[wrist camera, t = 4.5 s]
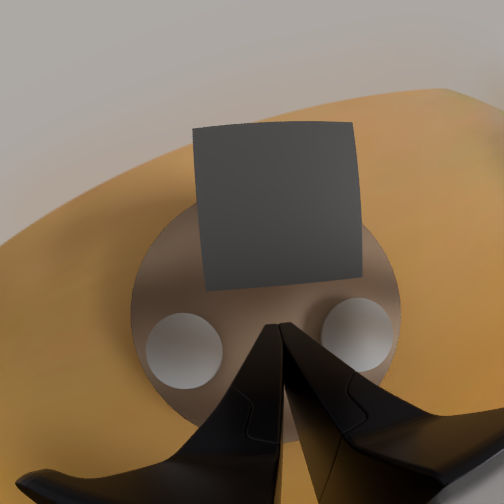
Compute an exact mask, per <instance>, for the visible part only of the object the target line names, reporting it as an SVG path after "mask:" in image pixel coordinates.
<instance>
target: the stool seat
mask: <svg viewBox="0 0 504 504" xmlns="http://www.w3.org/2000/svg"><path fill="white" fill-rule="evenodd" d="M362 257H363V272H362V277H361V278H352V279H343V280H334V281H325V282H315V283H305V284H294V285H283V286H272V287H260V288H248V289H234V290H220V291H206V289H205V280H204V272H203V262H202V253H201V243H200V232H199V221H198V210H197V203H196V204H194V205H193V206H191V207H189V208H188V209H186V210H185V211H183V212H182V213H181V214H180V215H179V216H177V217H176V218H175V219H174V220H172V221H171V222H170V223H169V224H168V226H167V227H166V228H165V229H164V230H163V231H162V232H161V233H160V234H159V236H158V237H157V238H156V240H155V241H154V242H153V244H152V245H151V247H150V248H149V250H148V252H147V254H146V255H145V257H144V259H143V261H142V264H141V266H140V268H139V271H138V273H137V277H136V280H135V284H134V288H133V293H132V301H131V328H132V335H133V341H134V345H135V348H136V351H137V355H138V358H139V360H140V363H141V365H142V367H143V369H144V371H145V373H146V375H147V377H148V379H149V380H150V382H151V383H152V385H153V386H154V388H155V389H156V391H157V392H158V393H159V394H160V395H161V397H162V398H163V399H164V400H165V401H166V402H167V403H168V404H169V405H170V406H171V407H172V408H173V409H174V410H175V411H177V412H178V413H179V414H180V415H181V416H183V417H184V418H185V419H187V420H188V421H190V422H191V423H193V424H195V425H196V426H198V427H200V426H201V425H202V424H203V423H204V422H205V420H206V419H207V418H208V417H209V415H210V414H211V413H212V412H213V410H214V409H215V408H216V407H217V405H218V404H219V402H220V401H221V399H222V398H223V396H224V394H225V393H226V391H227V389H228V388H229V387H230V385H231V383H232V381H233V379H234V378H235V376H236V374H237V373H238V371H239V369H240V367H241V366H242V364H243V362H244V361H245V359H246V357H247V355H248V354H249V352H250V350H251V348H252V346H253V345H254V343H255V341H256V339H257V338H258V336H259V334H260V332H261V330H262V329H263V327H264V325H265V324H274V323H276V324H279V323H284V322H292V323H293V324H294V325H296V326H297V327H298V328H300V329H301V330H302V331H304V332H305V333H306V334H308V335H309V336H310V337H311V338H313V339H314V340H315V341H317V342H318V343H319V344H321V345H322V346H323V347H325V348H326V349H327V350H329V351H330V352H331V353H333V354H334V355H335V356H337V357H338V358H339V359H341V360H342V361H343V362H345V363H346V364H347V365H349V366H350V367H352V368H353V369H354V370H355V371H357V372H359V373H360V374H361V375H363V376H364V377H365V378H367V379H368V380H370V381H371V382H373V383H374V384H376V385H377V386H379V384H380V383H381V381H382V379H383V378H384V376H385V374H386V372H387V371H388V369H389V366H390V364H391V361H392V359H393V356H394V354H395V351H396V346H397V342H398V338H399V333H400V323H401V306H400V296H399V291H398V285H397V282H396V278H395V275H394V272H393V269H392V267H391V265H390V262H389V260H388V258H387V256H386V254H385V252H384V251H383V249H382V248H381V246H380V244H379V243H378V241H377V240H376V239H375V237H374V236H373V235H372V234H371V232H370V231H369V230H368V229H367V228H366V227H365V226H364V225H363V224H362ZM298 440H299V437H298V433H297V430H296V426H295V423H294V420H293V416H292V413H291V409H290V406H289V402H288V399H287V396H286V392H285V388H284V430H283V443H287V442H292V441H298Z"/></svg>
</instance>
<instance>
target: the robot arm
mask: <svg viewBox="0 0 504 504" xmlns="http://www.w3.org/2000/svg"><path fill="white" fill-rule="evenodd" d="M284 388H285V392H286V396H287V399H288V402H289V406H290V409H291V413H292V416H293V420H294V423H295V426H296V430H297V433H298V437H299V440H300V443H301V447H302V450H303V454H304V457H305V460H306V464H307V467H308V470H309V474H310V477H311V480H312V484H313V487H314V490H315V494H316V497H317V500H318V503H319V504H504V408H499V409H494V410H488V411H483V412H476V413H469V414H462V415H453V416H438V415H434V414H431V413H428V412H426V411H423V410H421V409H420V408H418V407H416V406H414V405H412V404H410V403H408V402H406V401H404V400H402V399H400V398H399V397H397V396H395V395H393V394H391V393H389V392H388V391H386V390H384V389H383V388H381V387H379V386H377V385H376V384H374V383H373V382H371V381H370V380H368V379H367V378H365V377H364V376H363V375H361V374H360V373H359V372H357V371H355V370H354V369H353V368H352V367H350V366H349V365H347V364H346V363H345V362H343V361H342V360H341V359H339V358H338V357H337V356H335V355H334V354H333V353H331V352H330V351H329V350H327V349H326V348H325V347H323V346H322V345H321V344H319V343H318V342H317V341H315V340H314V339H313V338H311V337H310V336H309V335H308V334H306V333H305V332H304V331H302V330H301V329H300V328H298V327H297V326H296V325H294V324H293V323H292V322H284V323H279V324H276V323H274V324H265V325H264V327H263V329H262V330H261V332H260V334H259V336H258V338H257V339H256V341H255V343H254V345H253V346H252V348H251V350H250V352H249V354H248V355H247V357H246V359H245V361H244V362H243V364H242V366H241V367H240V369H239V371H238V373H237V374H236V376H235V378H234V379H233V381H232V383H231V385H230V387H229V388H228V389H227V391H226V393H225V394H224V396H223V398H222V399H221V401H220V402H219V404H218V405H217V407H216V408H215V409H214V410H213V412H212V413H211V414H210V415H209V417H208V418H207V419H206V420H205V422H204V423H203V424H202V425H201V426H200V427H199V428H198V429H197V431H196V432H195V433H194V434H193V435H192V436H191V437H190V438H189V440H188V441H187V442H186V443H185V444H184V445H183V446H182V447H181V448H180V449H179V450H178V451H177V452H176V453H175V454H174V455H173V456H171V457H170V458H168V459H167V460H165V461H163V462H160V463H157V464H154V465H150V466H147V467H143V468H140V469H136V470H132V471H128V472H124V473H120V474H116V475H112V476H107V477H102V478H89V479H85V478H77V477H73V476H69V475H66V474H63V473H60V472H58V471H55V470H51V469H42V470H38V471H33V472H30V473H27V474H25V475H23V476H22V477H20V478H19V479H18V480H17V481H16V482H15V484H16V486H17V487H18V489H20V490H21V491H22V492H23V493H24V494H25V495H26V496H28V497H29V498H30V499H32V500H33V501H34V502H36V503H37V504H281V485H282V461H283V430H284Z"/></svg>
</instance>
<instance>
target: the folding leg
mask: <svg viewBox="0 0 504 504" xmlns="http://www.w3.org/2000/svg"><path fill="white" fill-rule="evenodd" d="M192 130H193V151H194V168H195V183H196V197H197V210H198V221H199V232H200V243H201V253H202V262H203V272H204V280H205V289H206V291H220V290H234V289H248V288H260V287H272V286H283V285H294V284H305V283H315V282H325V281H334V280H343V279H352V278H361V277H362V272H363V257H362V219H361V201H360V187H359V175H358V164H357V155H356V146H355V138H354V131H353V123H351V122H324V121H289V122H261V123H245V124H233V125H221V126H211V127H203V128H195V129H192Z"/></svg>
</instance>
